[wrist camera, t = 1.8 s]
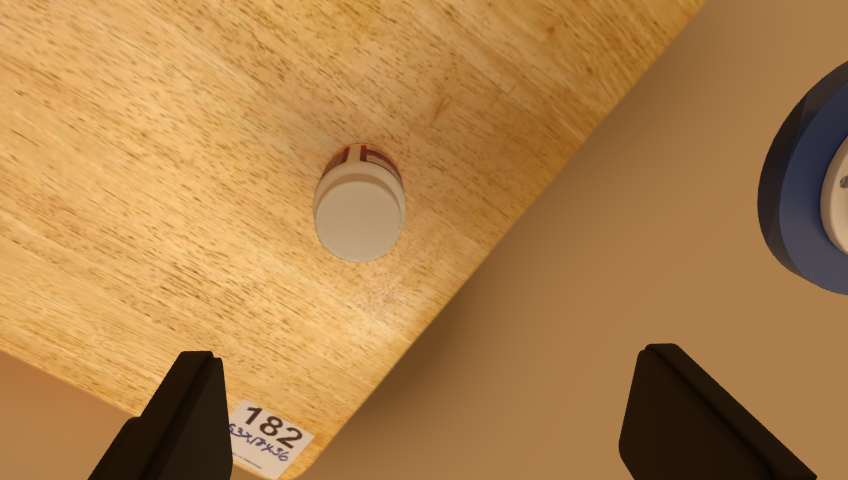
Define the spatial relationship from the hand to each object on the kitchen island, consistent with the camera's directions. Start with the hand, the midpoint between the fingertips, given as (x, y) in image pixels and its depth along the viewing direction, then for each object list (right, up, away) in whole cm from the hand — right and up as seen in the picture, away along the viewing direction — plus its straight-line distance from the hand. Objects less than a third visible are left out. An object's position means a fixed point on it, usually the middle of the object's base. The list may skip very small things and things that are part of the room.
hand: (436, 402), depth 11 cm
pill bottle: (-4, +7, +20) cm, 22 cm away
